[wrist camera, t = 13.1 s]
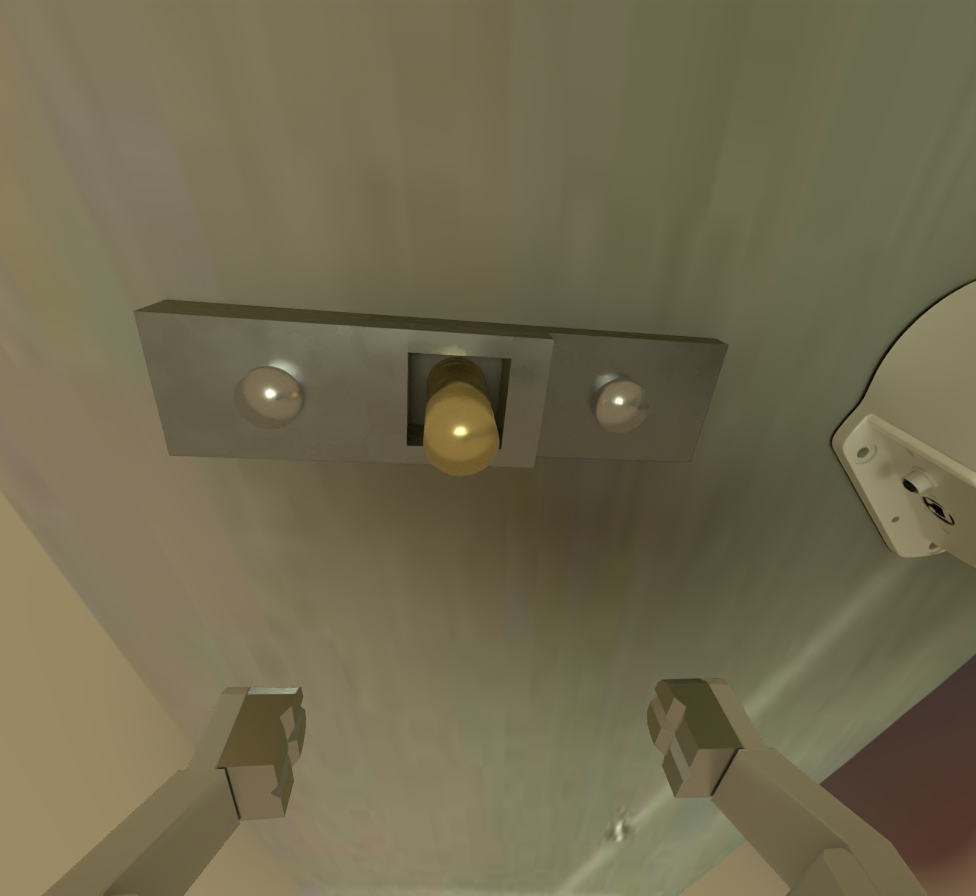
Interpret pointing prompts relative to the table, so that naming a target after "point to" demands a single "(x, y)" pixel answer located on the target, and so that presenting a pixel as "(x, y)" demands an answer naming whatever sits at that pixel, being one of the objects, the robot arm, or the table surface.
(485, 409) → the brass pin
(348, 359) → the latch strike plate
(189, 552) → the table surface
